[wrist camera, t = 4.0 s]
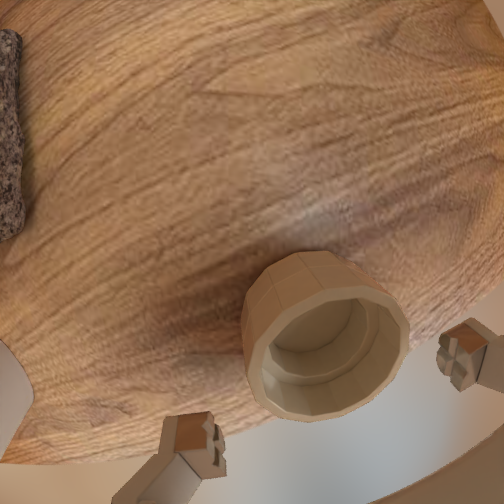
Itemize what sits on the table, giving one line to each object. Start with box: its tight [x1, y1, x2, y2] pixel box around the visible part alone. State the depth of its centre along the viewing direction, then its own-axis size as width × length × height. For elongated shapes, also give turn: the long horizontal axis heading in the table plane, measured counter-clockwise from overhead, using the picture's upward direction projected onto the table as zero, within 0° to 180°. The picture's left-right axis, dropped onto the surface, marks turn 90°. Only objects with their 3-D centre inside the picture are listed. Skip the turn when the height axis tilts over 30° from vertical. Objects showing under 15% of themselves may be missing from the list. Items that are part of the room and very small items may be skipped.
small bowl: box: [240, 251, 410, 423], centre depth 12 cm, size 6×6×4 cm
